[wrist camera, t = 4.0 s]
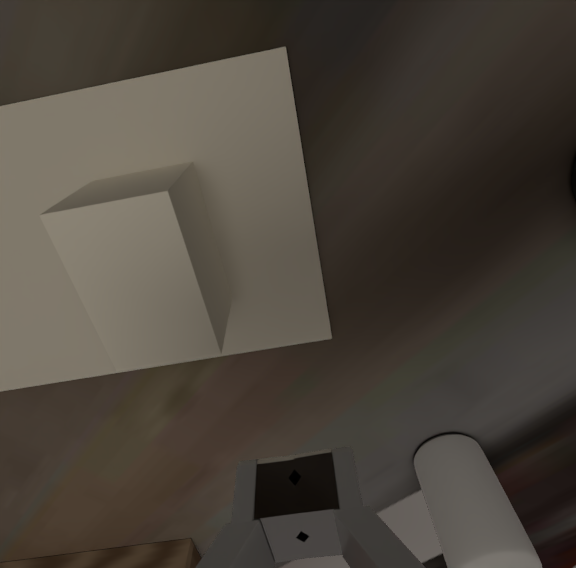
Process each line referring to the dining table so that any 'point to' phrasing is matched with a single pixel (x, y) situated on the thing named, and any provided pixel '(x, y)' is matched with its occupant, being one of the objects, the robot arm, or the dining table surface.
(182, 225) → the plain beige block
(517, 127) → the dining table surface
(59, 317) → the felt mat
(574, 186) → the pen holder
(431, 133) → the dining table surface
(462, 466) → the can
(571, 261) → the dining table surface
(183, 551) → the walnut tray
